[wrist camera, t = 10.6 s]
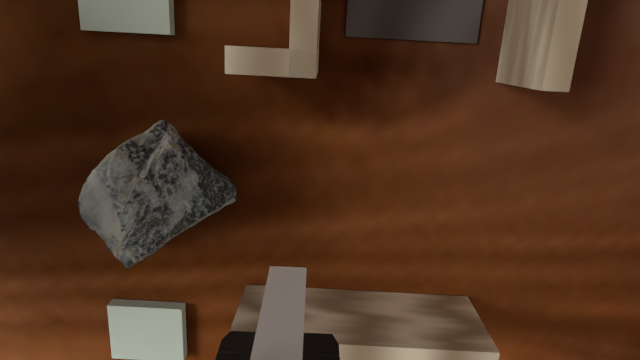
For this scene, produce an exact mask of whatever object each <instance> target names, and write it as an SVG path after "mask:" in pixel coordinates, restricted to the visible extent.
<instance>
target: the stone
mask: <svg viewBox="0 0 640 360" xmlns="http://www.w3.org/2000/svg"><path fill="white" fill-rule="evenodd" d="M236 198H237V193H236V187H235V185H234V184H233V183H232V182H231V181H230V179H229V178H228V177H227V176H225V175H224V174H222V173H220V172H218V171H216V170H214V169H213V168H212V167H211V165H210V164H209V163H207V162H206V161H205V160H203V159H202V158H201V157H200V156H199V155H198V154H197V153H196V152H195V151H194V150H193V149H192V148H191V146H190V145H189V144H188V143H187V142H186V141H184V140H183V139H182V137H181V136H180V134H179V133H178V131H177V130H176V129H175V127H174V126H173V125H171V124H170V123H168V122H167V121H165V120H160V121H158V122H157V123H155V124H154V125H153V126H152V127H150V128H149V129H148V130H147V131H145V132H144V133H142V134H139V135H137V136H134V137H133V138H131V139H129V140H127V141H125V142H123V143H122V144H121V145H120V146H118V147H117V148H116V149H114V150H113V151H112V152H110V153H109V154H108V155H107V156H106V157H105V158H104V159H103V160H102V161H101V162H100V163H99V165H98V166H97V167H96V168H95V169H93V170H92V172H91V174H90V176H89V177H87V181H86V182H85V183H84V185H83V188H82V190H81V193H80V195H79V199H78V202H79V206H78V209H79V212H80V215H81V217H82V220H83V221H84V222H85V223H86V224H87V225H88V227H89V229H91V230H93V231H96V232H97V233H98V235H99V236H100V237H101V238H102V239H103V240H104V242H105V244H106V246H107V247H108V249H109V250H110V251H111V252H112V254H113V255H114V257H116V258H117V259H118V260H120V261H121V262H122V264H123V265H124V267H125V268H126V269H128V268H130V267H132V266H133V265H134V264H136V263H138V262H140V261H142V260H143V259H145V258H146V257H149V256H150V255H152V254H154V253H155V252H156V251H157V250H158V249H159V248H161V247H162V246H163V245H165V244H166V243H167V242H168V241H169V240H171V239H172V238H174V237H176V236H177V235H179V234H180V233H182V232H183V231H185V230H187V229H188V228H190V227H192V226H194V225H196V224H197V223H198V222H200V221H202V220H203V219H205V218H206V217H208V216H210V215H211V214H213V213H215V212H217V211H219V210H221V209H222V208H223V207H225V206H226V205H229V204H232V203H233V202H235V200H236Z"/></svg>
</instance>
